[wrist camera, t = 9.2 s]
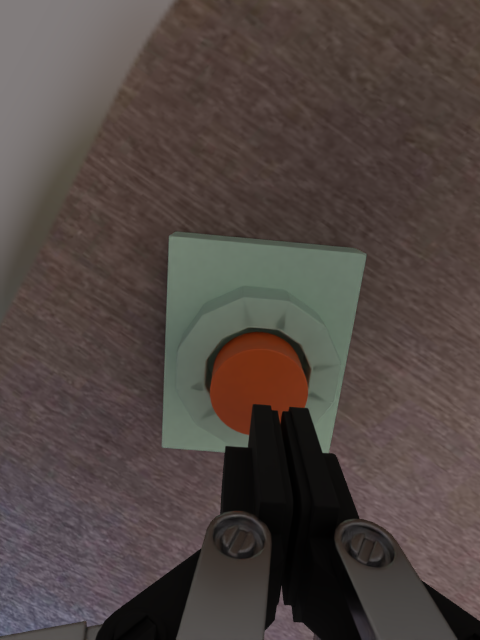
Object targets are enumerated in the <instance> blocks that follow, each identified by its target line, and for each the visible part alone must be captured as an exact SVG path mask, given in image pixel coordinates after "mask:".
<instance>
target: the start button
mask: <svg viewBox="0 0 480 640" xmlns="http://www.w3.org/2000/svg"><path fill="white" fill-rule="evenodd" d="M307 398H308V384H307V380H306V377H305V374H304V371H303V368H302V365H301V362H300V360H299V357H298V355H297V353H296V351H295V350H294V349H293V347H292V346H291V345H290V344H289V343H288V342H286V341H285V340H284V339H282V338H280V337H278V336H276V335H273V334H270V333H265V332H250V333H246V334H242V335H239V336H237V337H235V338H233V339H232V340H230V341H229V342H228V343H227V344H225V345H224V346H223V348H222V349H221V350H220V351H219V353H218V355H217V357H216V359H215V362H214V366H213V372H212V379H211V385H210V400H211V404H212V407H213V409H214V411H215V413H216V414H217V416H218V417H219V418H220V420H221V421H222V422H223V423H225V424H226V425H227V426H228V427H230V428H231V429H233V430H235V431H237V432H240V433H242V434H246V435H249V432H250V423H251V414H252V406H253V404H261V405H271V408H272V410H277V411H278V415H279V420H280V423H281V415H282V412H283V411H288V410H289V407H301V408H305V405H306V403H307Z"/></svg>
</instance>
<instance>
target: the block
mask: <svg viewBox="0 0 480 640" xmlns="http://www.w3.org/2000/svg"><path fill="white" fill-rule="evenodd" d="M366 256H367V254H365V253H363V252H362V251H360V250H358V249H356V248H349V247H338V246H328V245H317V244H306V243H295V242H284V241H274V240H263V239H252V238H241V237H230V236H219V235H209V234H198V233H187V232H174V233H173V234H171V235H170V236H169V247H168V277H167V306H166V336H165V365H164V395H163V424H162V448H174V449H187V450H200V451H213V452H225V446H235V447H248V441H249V435H246V434H242V433H240V432H237V431H235V430H233V429H231V428H230V427H228V426H227V425H226V424H225V423H223V422H222V421H221V420H220V418H219V417H218V416H217V414H216V413H215V411H214V409H213V407H212V404H211V400H210V385H211V379H212V372H213V366H214V362H215V359H216V357H217V355H218V353H219V351H220V350H221V349H222V348H223V346H224V345H225V344H227V343H228V342H229V341H230V340H232V339H233V338H235V337H237V336H239V335H242V334H246V333H250V332H265V333H270V334H273V335H276V336H278V337H280V338H282V339H284V340H285V341H286V342H288V343H289V344H290V345H291V346H292V347H293V349H294V350H295V351H296V353H297V355H298V357H299V360H300V362H301V365H302V368H303V371H304V374H305V377H306V380H307V384H308V398H307V403H306V405H305V408H308V409H309V412H310V415H311V418H312V421H313V424H314V427H315V431H316V434H317V437H318V440H319V443H320V446H321V449H322V452H323V453H329V449H330V444H331V439H332V434H333V428H334V423H335V418H336V413H337V408H338V402H339V397H340V392H341V387H342V381H343V376H344V371H345V366H346V361H347V355H348V350H349V345H350V340H351V335H352V329H353V324H354V319H355V314H356V308H357V303H358V298H359V293H360V288H361V282H362V277H363V272H364V267H365V261H366Z"/></svg>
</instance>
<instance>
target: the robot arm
mask: <svg viewBox="0 0 480 640" xmlns="http://www.w3.org/2000/svg"><path fill="white" fill-rule="evenodd" d="M281 585H282V592H283V601H284V604H285V605H291V606H292V614H293V621H294V622H302V623H304V624H305V625H306V626H307V627H308V628H309V629H310V630H311V631H312V632H313V633H314V637H313V640H480V621H479V620H477V619H476V618H474V617H473V616H472V615H470V614H469V613H467V612H466V611H464V610H463V609H462V608H460V607H459V606H457V605H456V604H454V603H453V602H452V601H450V600H449V599H447V598H446V597H445V596H443V595H442V594H440V593H439V592H437V591H436V590H435V589H433V588H432V587H430V586H429V585H427V584H426V583H425V582H423V581H422V580H421V579H420V578H419V576H418V575H417V573H416V571H415V570H414V568H413V567H412V565H411V563H410V562H409V560H408V559H407V557H406V555H405V554H404V552H403V550H402V549H401V547H400V546H399V544H398V542H397V541H396V540H395V539H394V537H393V536H392V535H391V534H390V533H389V532H388V531H386V530H385V529H384V528H383V527H381V526H379V525H377V524H375V523H373V522H370V521H367V520H364V519H359V516H358V513H357V511H356V508H355V505H354V502H353V500H352V497H351V494H350V492H349V489H348V486H347V483H346V481H345V478H344V475H343V473H342V470H341V467H340V464H339V462H338V459H337V457H336V455H335V454H332V453H323V452H322V449H321V446H320V443H319V440H318V437H317V434H316V431H315V427H314V424H313V421H312V418H311V415H310V412H309V409H308V408H301V407H289V410H288V411H283V412H282V415H281V423H280V420H279V415H278V411H277V410H272V408H271V405H261V404H253V406H252V414H251V423H250V432H249V441H248V447H235V446H225V455H224V467H223V479H222V493H221V510H220V515H218V516H216V517H215V518H214V519H213V520H212V521H211V522H210V524H209V526H208V528H207V530H206V534H205V538H204V541H203V545H202V548H201V549H200V550H199V551H197V552H196V553H194V554H193V555H192V556H190V557H189V558H188V559H186V560H185V561H183V562H182V563H181V564H179V565H178V566H177V567H175V568H174V569H173V570H171V571H170V572H168V573H167V574H166V575H164V576H163V577H162V578H160V579H159V580H158V581H156V582H155V583H153V584H152V585H151V586H149V587H148V588H147V589H145V590H144V591H142V592H141V593H140V594H138V595H137V596H136V597H134V598H133V599H132V600H130V601H129V602H127V603H126V604H125V605H123V606H122V607H121V608H119V609H118V610H117V611H115V612H114V613H113V614H112V615H111V616H110V617H109V618H108V619H107V620H106V621H105V622H104V623H103V624H101V625H95V626H90V627H87V623H86V621H83V622H77V623H72V624H66V625H61V626H55V627H50V628H44V629H39V630H33V631H28V632H22V633H17V634H11V635H6V636H0V640H264V632H265V630H266V629H267V628H268V627H269V626H270V625H271V624H272V622H273V621H274V620H275V614H276V608H277V605H278V603H279V598H280V591H281Z"/></svg>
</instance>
